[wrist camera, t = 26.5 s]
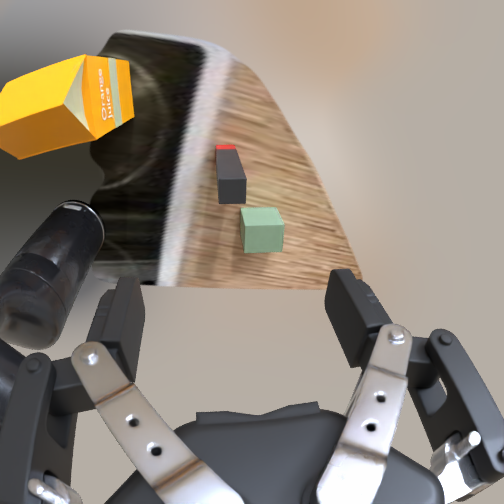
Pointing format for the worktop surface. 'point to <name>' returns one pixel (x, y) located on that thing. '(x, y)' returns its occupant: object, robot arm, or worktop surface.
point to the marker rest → (261, 230)
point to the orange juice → (64, 105)
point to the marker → (230, 176)
